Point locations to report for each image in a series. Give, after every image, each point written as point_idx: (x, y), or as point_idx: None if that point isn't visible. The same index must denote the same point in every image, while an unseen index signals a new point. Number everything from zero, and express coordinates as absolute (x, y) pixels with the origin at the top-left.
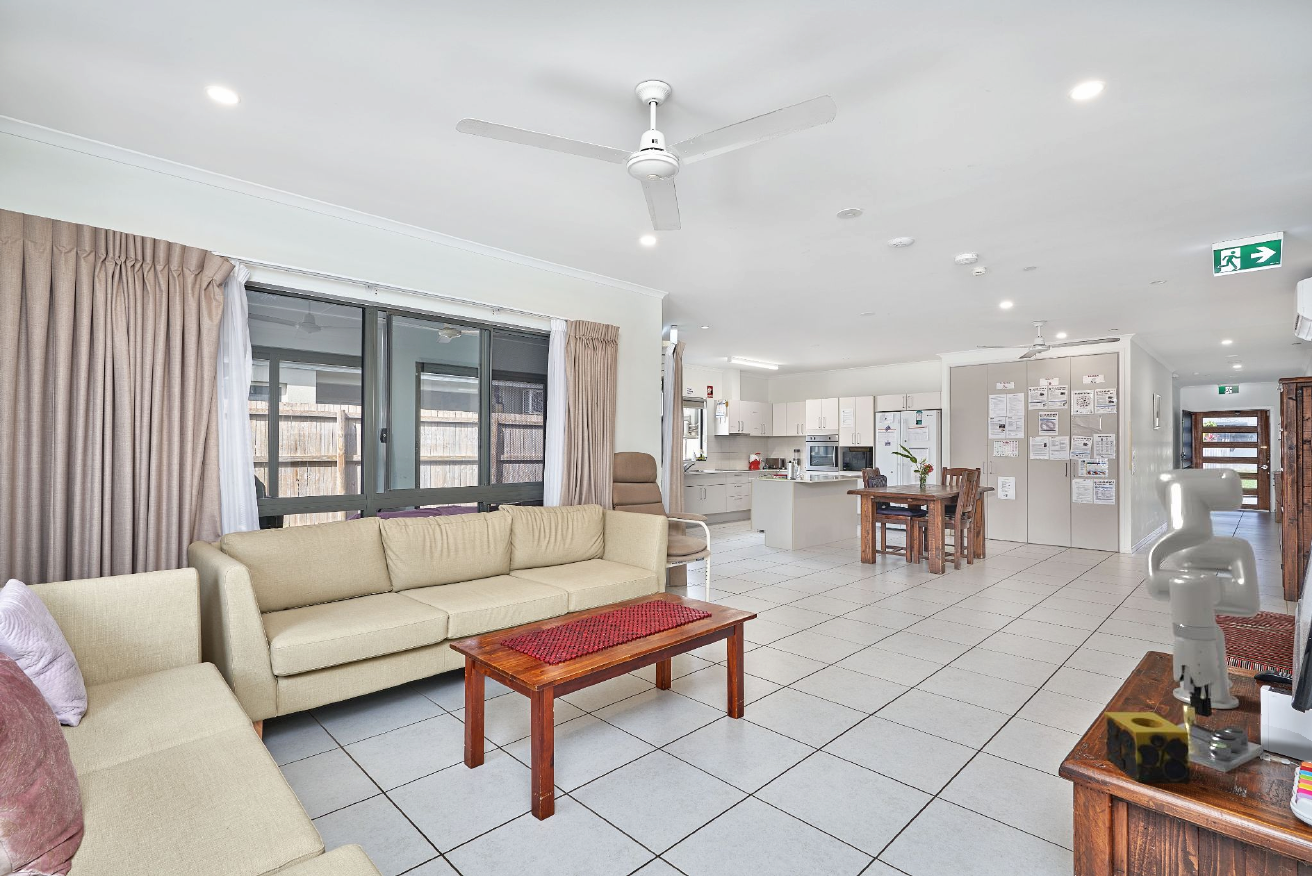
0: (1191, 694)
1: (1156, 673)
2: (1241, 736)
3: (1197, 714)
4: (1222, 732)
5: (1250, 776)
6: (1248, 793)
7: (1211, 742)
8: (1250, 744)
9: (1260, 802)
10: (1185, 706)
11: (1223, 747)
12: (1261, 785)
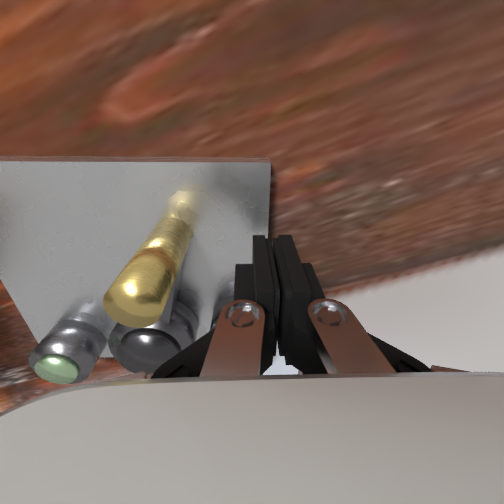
0: (212, 332)
1: None
2: None
3: (252, 255)
4: (154, 352)
5: (99, 365)
6: (18, 386)
7: (45, 360)
8: None
9: (8, 402)
10: (112, 300)
11: (53, 380)
12: (79, 384)
